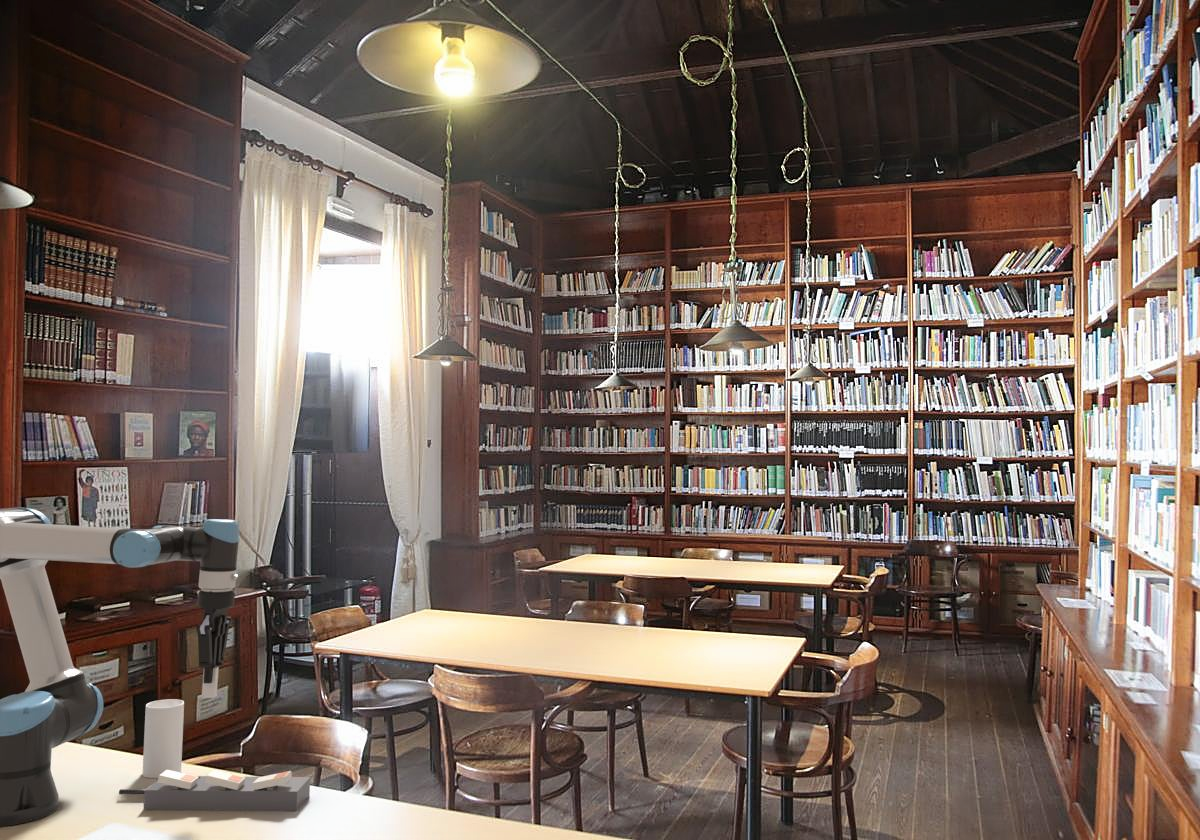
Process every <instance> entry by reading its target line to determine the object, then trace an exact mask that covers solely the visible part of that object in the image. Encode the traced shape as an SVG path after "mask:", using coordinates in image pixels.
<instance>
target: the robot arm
mask: <svg viewBox="0 0 1200 840" xmlns="http://www.w3.org/2000/svg"><path fill="white" fill-rule="evenodd" d="M239 543H240V525H239V523H238V521H237V520H234V519H219V518H218V519H216V518H213V519H212V518H211V519H210V518H209V519H206V520H204V522H203V525H202V527H201V526H200V527H193V526H191V527H190V526H178V525H171V524H168V525H154V526H153V527H152V528H149V529H146V528H145V529H142V528H141V529H140V528H138V529H137V528H119V527H103V526H102V527H101V526H85V525H84V526H82V525H67V524H52V522H51V521H50V520H49V518H48V517H47V516H46V515H45V514H44V513H43V512H41V511H39V510H37V509H35V508H30V507H21V506H18V507H17V506H13V507H8V508H6V507H5V508H4V507H3V508H0V583H1V585H2V589H3V591H4V595H5V599H6V602H7V606H8V609H9V613H10V616H11V620H12V624H13V626H14V630H15V633H16V636H17V641H18V643H19V648H20V650H21V654H22V657H23V661H24V665H25V668H26V672H27V675H28V679H29V683H28V686H27V688H25V691H24V692H20V693H18V694H15V693H14V694H11V695H8V696H6V697H3V698H1V699H0V827H5V826H6V827H8V826H14V825H20V824H24V823H28V822H33V821H36V820H40V819H43V818H44V817H47V816H49V815H51V814H53V813H54V812H55V811H56V810H57V809H58V808H59V799H60V798H59V792H58V790H57V786H56V783H55V779H54V777H53V774H52V771H51V770H52V769H51V768H52V767H51V766H52V763H51V762H52V749H54V748H57V747H59V746H61V745H62V744H65V743H67V742H69V741H73V740H76V739H79V738H80V737H82V736H83V735H84V734H87V733H88V732H89V731H92V729H93V728H95V726H96V725H97V724H98V722H99V720H100V718H101V717H102V714H103V712H104V711H103V710H104V698H103V694H102V692H101V691H100V689H99V688H98V687H97V686H96V685H93V684H92V683H91V682H88V681H87V680H86V677H85V676H86V675H85V673H84V671H83V670H80V669H78V668H76V667H75V666H74V664H73V661H72V657H71V654H70V653H71V652H70V650H69V647H68V643H67V640H66V636H65V633H64V630H63V626H62V622H61V620H60V615H59V611H58V609H57V605H56V601H55V599H54V595H53V591H52V589H51V588H52V587H51V585H50V581H49V577H48V574H47V571H46V567H45V566H46V565H47V563H48V562H49V561H56V562H75V563H92V564H93V563H94V564H108V565H109V564H110V565H120V566H123V567H125V568H134V569H135V568H143V567H148V566H151V565H156V564H164V563H169V562H173V561H185V562H200V564H199V565H200V568H199V577H198V588H199V589H200V590H198V593H197V603H196V604H197V607H198V608H199V609H203V610H204V612H203V616H202V620H201V621H202V622H201V623H202V624H197V625H196V627H195V628H196V634H197V644H198V649H197V650H198V668H200V669H202V668H203V673H202V687H201V698H205V699H206V698H207V699H214V698H216V697H217V696H218V682H219V681H218V680H219V671H220V669H219V668H220V667H223V666H224V665H225V662H224V660H225V655H226V654H225V653H226V648H227V644H228V642H227V641H228V636H229V630H230V626H231V623H232V616H228V615H227V614H228V610H227V609H230V608H233V607H234V606H235V595H236V591H235V590H234V588H235V587H236V580H237V579H238V578H239V577H238V574H237V564H238V562H237V561H238V553H239Z"/></svg>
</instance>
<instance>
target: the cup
mask: <svg viewBox="0 0 1200 840" xmlns="http://www.w3.org/2000/svg"><path fill="white" fill-rule="evenodd" d="M184 709H185V701H184V700H182V699H175V698H172V699H171V698H169V699H160V700H154V701H150V702H148V703H146V704H145V711H144V713H145V716H144V719H145V720H144V731H143V732H144V735H143V737H144V738H143V752H142V753H143V757H142V776H143V777H144V776H145V778H147V777H149V778H148V779H158V778H159V775H160V774H162V773H163V772H164V771H166V770H171V771H176V772H180V773H181V772H182V757H183V736H184V715H185V714H184V713H185V712H184V711H185V710H184Z"/></svg>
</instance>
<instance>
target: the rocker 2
mask: <svg viewBox="0 0 1200 840" xmlns="http://www.w3.org/2000/svg"><path fill="white" fill-rule="evenodd" d="M206 776H207V777H206V781H205V783H210V784H214V785H218V786H222V787H226V788H230V789H234V790H238V789H239V788H240V787H241V786H242V785H244V782H245V778H246V777H247V776H242V775H237V774H234V773H229V772H225V771H221V770H216V769H213V770H212V771H211V772H209V773H208V774H207V775H206Z"/></svg>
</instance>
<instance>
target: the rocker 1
mask: <svg viewBox="0 0 1200 840" xmlns="http://www.w3.org/2000/svg"><path fill="white" fill-rule="evenodd" d="M198 776H199V775H193V774H187V773H185V772H181V771H180V772H176V771H171V770H166V771H164V772H163V773H162V774H160V775H159V778H157V781H158V782H159V783H163V784H167V785H172V786H176V787H181V788H185V789H191V788H192V787H194V786H195V785H196V784H197V782H198V778H199V777H198Z"/></svg>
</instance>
